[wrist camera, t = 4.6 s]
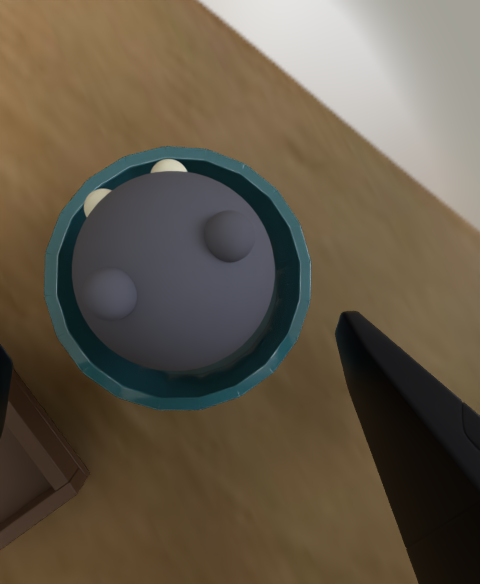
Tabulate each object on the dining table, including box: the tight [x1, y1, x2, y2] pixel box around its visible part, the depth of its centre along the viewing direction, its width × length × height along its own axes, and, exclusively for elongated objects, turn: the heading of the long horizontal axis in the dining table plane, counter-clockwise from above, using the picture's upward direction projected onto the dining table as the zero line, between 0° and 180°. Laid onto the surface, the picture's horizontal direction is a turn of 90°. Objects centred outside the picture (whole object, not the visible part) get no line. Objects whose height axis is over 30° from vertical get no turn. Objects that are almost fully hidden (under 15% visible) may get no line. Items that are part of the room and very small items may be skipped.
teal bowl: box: [44, 146, 311, 410], centre depth 17 cm, size 10×10×5 cm
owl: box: [72, 159, 275, 371], centre depth 13 cm, size 6×6×11 cm
